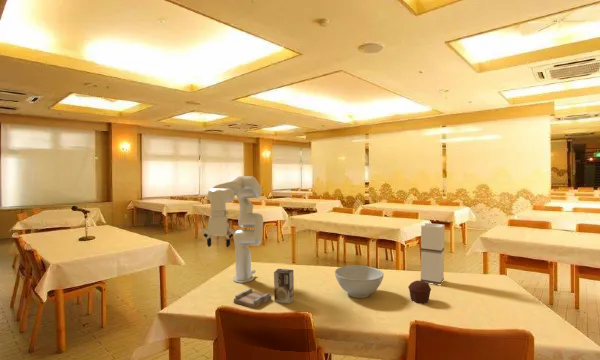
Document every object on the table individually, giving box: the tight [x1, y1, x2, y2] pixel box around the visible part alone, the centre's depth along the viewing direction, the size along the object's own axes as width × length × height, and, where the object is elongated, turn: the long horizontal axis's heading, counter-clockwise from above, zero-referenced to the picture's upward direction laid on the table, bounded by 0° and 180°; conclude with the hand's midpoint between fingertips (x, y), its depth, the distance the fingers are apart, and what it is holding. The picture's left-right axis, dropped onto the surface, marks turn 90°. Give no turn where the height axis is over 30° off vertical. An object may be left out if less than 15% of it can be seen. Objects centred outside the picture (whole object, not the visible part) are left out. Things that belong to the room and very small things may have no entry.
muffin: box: [408, 280, 432, 304], centre depth 178 cm, size 12×11×10 cm
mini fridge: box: [420, 222, 445, 284], centre depth 206 cm, size 11×11×35 cm
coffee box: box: [273, 268, 295, 305], centre depth 178 cm, size 9×6×16 cm
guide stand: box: [233, 288, 272, 309], centre depth 178 cm, size 14×14×4 cm
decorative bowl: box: [334, 264, 384, 299], centre depth 188 cm, size 27×27×12 cm
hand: (218, 246), depth 175 cm, fingers open, 9 cm apart
